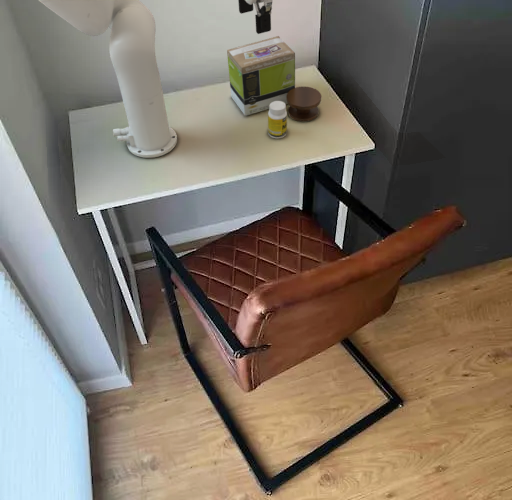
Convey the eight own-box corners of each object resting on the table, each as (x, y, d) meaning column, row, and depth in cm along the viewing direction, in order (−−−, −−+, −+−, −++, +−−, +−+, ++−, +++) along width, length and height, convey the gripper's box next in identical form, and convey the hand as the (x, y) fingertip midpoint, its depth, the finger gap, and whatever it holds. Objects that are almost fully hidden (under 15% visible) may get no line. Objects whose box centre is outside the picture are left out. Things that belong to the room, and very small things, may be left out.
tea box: (279, 83, 162) (279, 34, 150) (295, 102, 155) (297, 52, 144) (229, 97, 158) (226, 47, 147) (244, 117, 152) (241, 67, 141)
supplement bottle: (285, 140, 145) (285, 112, 139) (266, 138, 146) (266, 110, 139) (288, 128, 148) (288, 100, 142) (270, 126, 149) (269, 98, 143)
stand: (288, 124, 149) (288, 107, 146) (284, 103, 155) (284, 87, 152) (322, 121, 150) (324, 105, 146) (317, 101, 156) (318, 85, 152)
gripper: (217, -75, 116) (224, 8, 129) (249, -43, 105) (253, 44, 118) (251, -82, 117) (255, 0, 130) (287, -51, 107) (287, 36, 120)
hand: (254, 21), depth 124 cm, fingers open, 9 cm apart
